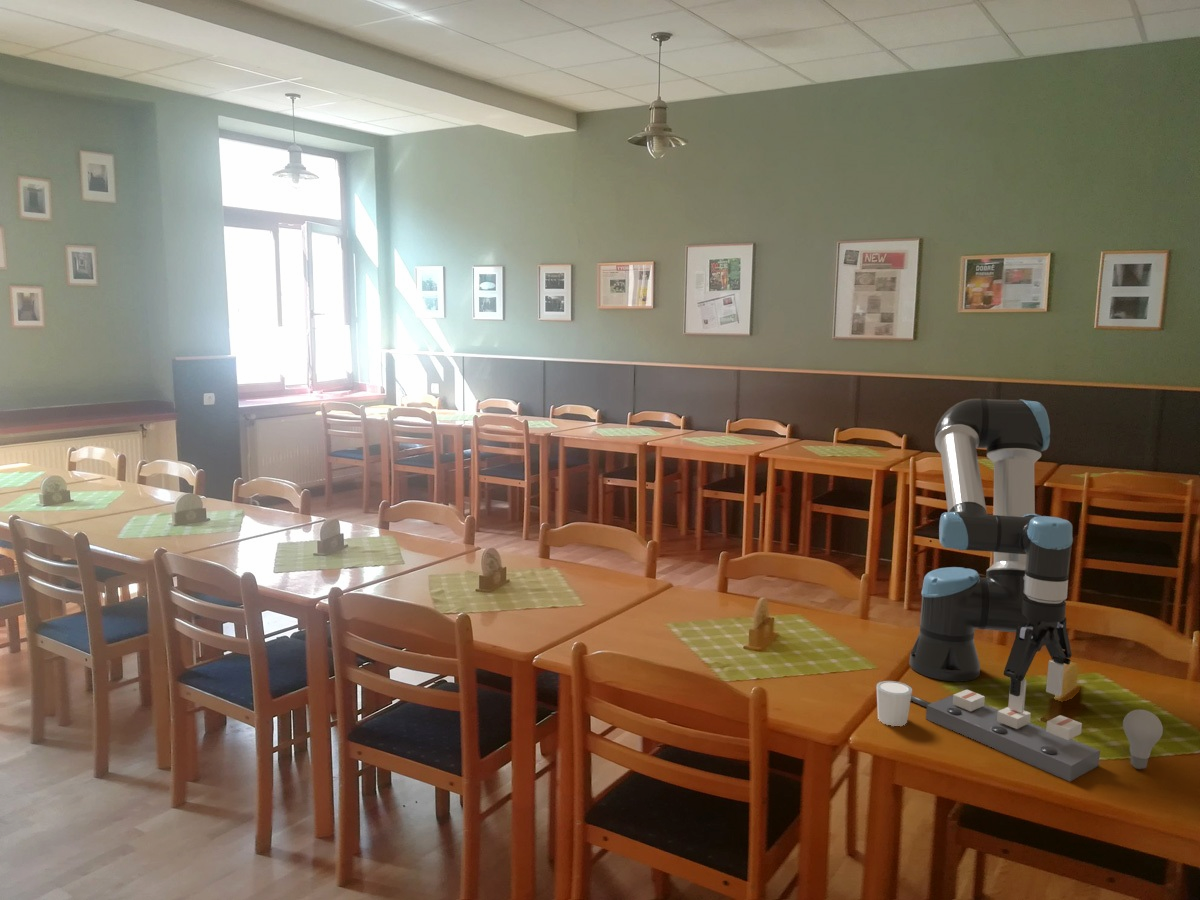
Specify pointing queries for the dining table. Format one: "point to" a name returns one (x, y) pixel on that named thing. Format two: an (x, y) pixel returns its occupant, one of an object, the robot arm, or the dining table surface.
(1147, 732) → the lightbulb
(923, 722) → the dining table surface
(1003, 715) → the middle switch
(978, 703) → the cord end switch
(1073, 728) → the far end switch
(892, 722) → the white cup
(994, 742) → the power strip
